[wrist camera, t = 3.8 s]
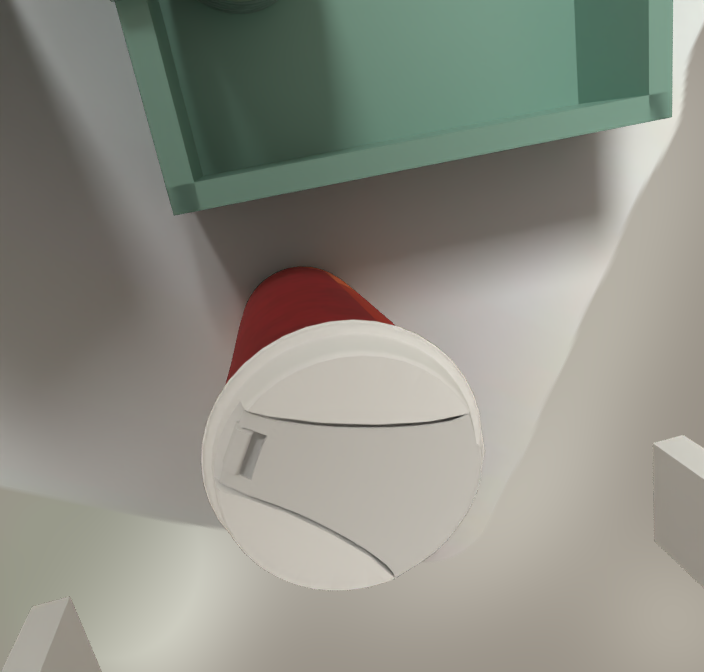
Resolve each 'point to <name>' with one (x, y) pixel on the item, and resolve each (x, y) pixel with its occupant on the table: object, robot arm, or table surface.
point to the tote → (382, 85)
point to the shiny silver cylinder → (238, 5)
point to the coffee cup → (338, 438)
